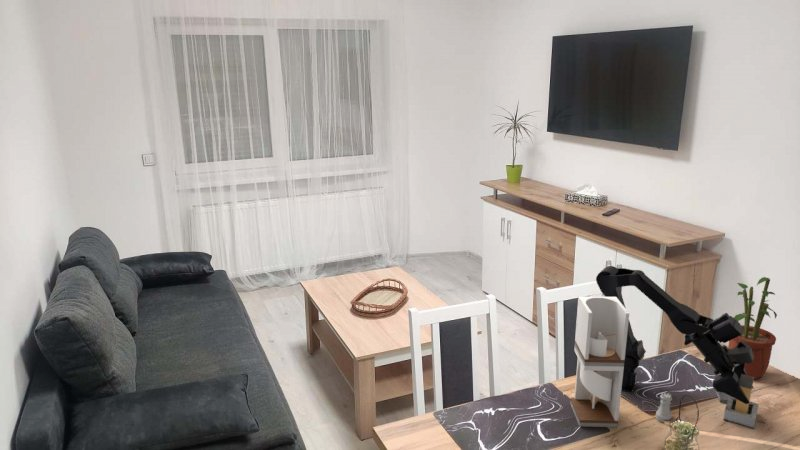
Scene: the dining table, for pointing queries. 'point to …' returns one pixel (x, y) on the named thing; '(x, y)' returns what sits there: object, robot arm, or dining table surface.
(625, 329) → the curved tiered shelf
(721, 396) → the charcoal tray
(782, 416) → the dining table surface
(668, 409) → the rook chess piece
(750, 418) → the steel socket block
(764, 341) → the potted plant
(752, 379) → the amber plug
